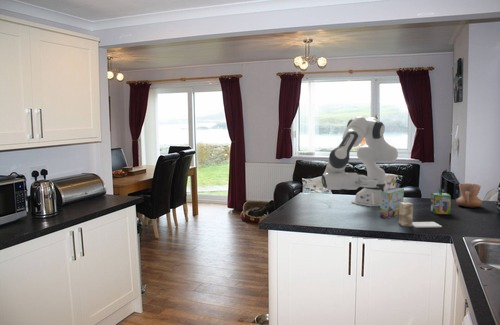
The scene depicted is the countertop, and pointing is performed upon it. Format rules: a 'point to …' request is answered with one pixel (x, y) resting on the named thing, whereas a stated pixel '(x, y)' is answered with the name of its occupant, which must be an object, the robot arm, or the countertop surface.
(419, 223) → the mat
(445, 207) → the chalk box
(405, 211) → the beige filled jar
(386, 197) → the snack box
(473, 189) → the ceramic jug
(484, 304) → the countertop surface
